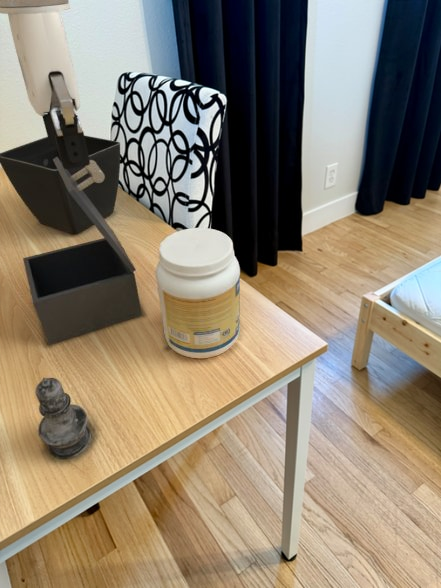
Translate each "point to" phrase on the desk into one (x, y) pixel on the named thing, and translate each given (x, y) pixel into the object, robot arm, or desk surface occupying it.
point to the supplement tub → (199, 292)
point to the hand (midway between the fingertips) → (69, 154)
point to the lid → (88, 207)
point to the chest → (81, 289)
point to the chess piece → (61, 421)
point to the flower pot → (62, 182)
